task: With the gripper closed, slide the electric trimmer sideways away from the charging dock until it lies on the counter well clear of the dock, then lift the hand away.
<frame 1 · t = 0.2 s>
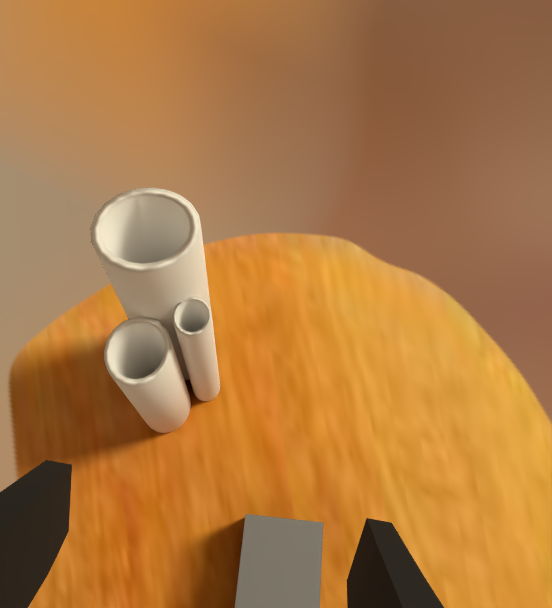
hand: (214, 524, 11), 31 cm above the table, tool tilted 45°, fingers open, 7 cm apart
vase: (183, 374, 45), on the table
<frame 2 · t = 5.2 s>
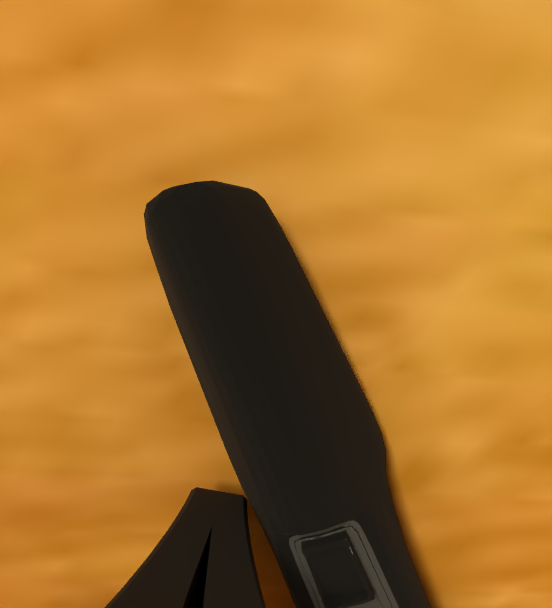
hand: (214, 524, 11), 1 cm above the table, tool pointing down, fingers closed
electric trimmer: (317, 472, 12), on the table, touching gripper
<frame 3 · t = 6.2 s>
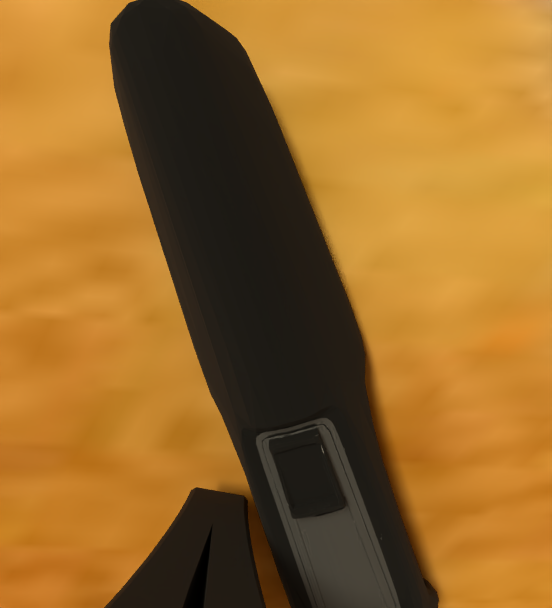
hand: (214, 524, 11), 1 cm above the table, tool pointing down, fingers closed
electric trimmer: (293, 390, 12), on the table
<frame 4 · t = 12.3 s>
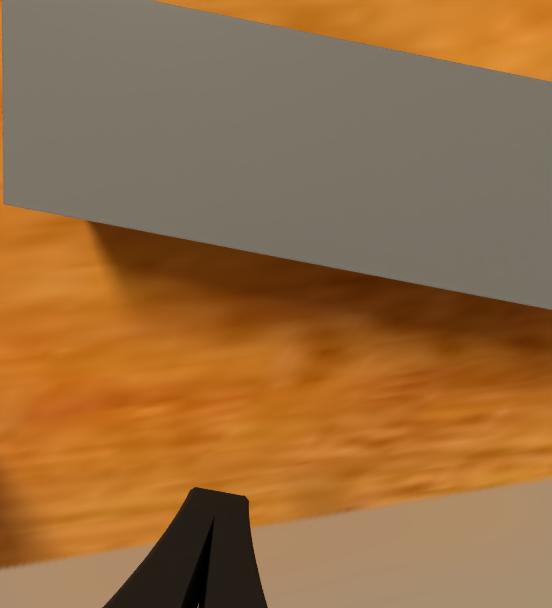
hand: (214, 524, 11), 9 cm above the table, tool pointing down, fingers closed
charging dock: (341, 160, 17), on the table
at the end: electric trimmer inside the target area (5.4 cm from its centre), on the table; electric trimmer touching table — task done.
